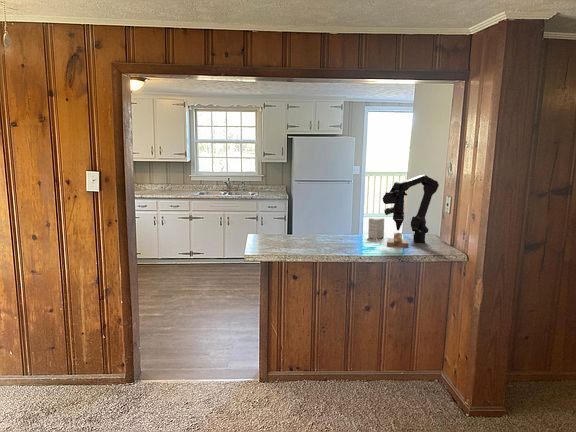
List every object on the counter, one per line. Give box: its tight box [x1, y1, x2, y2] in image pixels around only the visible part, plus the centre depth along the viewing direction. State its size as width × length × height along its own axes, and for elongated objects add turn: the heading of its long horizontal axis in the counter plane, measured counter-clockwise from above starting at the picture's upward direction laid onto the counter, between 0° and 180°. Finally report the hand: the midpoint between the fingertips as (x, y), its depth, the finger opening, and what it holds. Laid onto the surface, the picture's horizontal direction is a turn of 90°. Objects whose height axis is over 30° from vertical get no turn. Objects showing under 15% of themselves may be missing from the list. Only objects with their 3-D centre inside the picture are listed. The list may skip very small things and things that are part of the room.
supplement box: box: [367, 216, 385, 240], centre depth 271 cm, size 7×7×13 cm
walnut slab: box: [386, 238, 409, 248], centre depth 250 cm, size 12×12×3 cm
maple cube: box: [393, 232, 403, 242], centre depth 249 cm, size 4×4×4 cm
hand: (398, 229), depth 248 cm, fingers open, 9 cm apart
